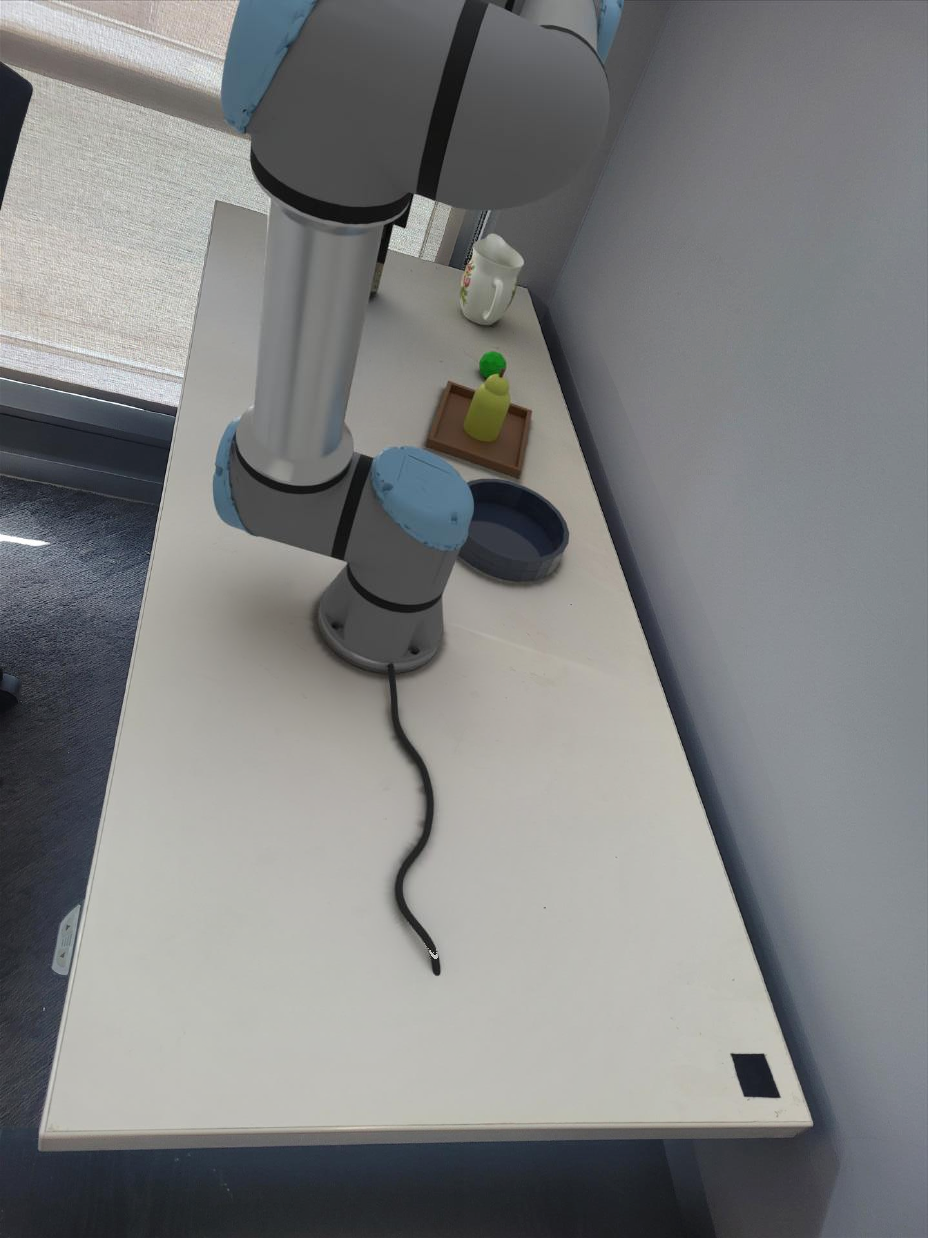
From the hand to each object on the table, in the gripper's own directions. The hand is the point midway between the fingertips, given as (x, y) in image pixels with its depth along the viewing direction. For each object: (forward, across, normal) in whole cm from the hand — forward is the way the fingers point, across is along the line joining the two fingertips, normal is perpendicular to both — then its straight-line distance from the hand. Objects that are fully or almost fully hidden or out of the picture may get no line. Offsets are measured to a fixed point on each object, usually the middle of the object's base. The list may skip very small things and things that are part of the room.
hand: (385, 241), depth 109 cm
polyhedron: (+29, -30, +20) cm, 46 cm away
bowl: (+29, +16, +28) cm, 43 cm away
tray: (+29, -10, +21) cm, 37 cm away
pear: (+28, -10, +21) cm, 36 cm away
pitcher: (+29, -52, +15) cm, 61 cm away
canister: (+29, -45, -10) cm, 54 cm away
